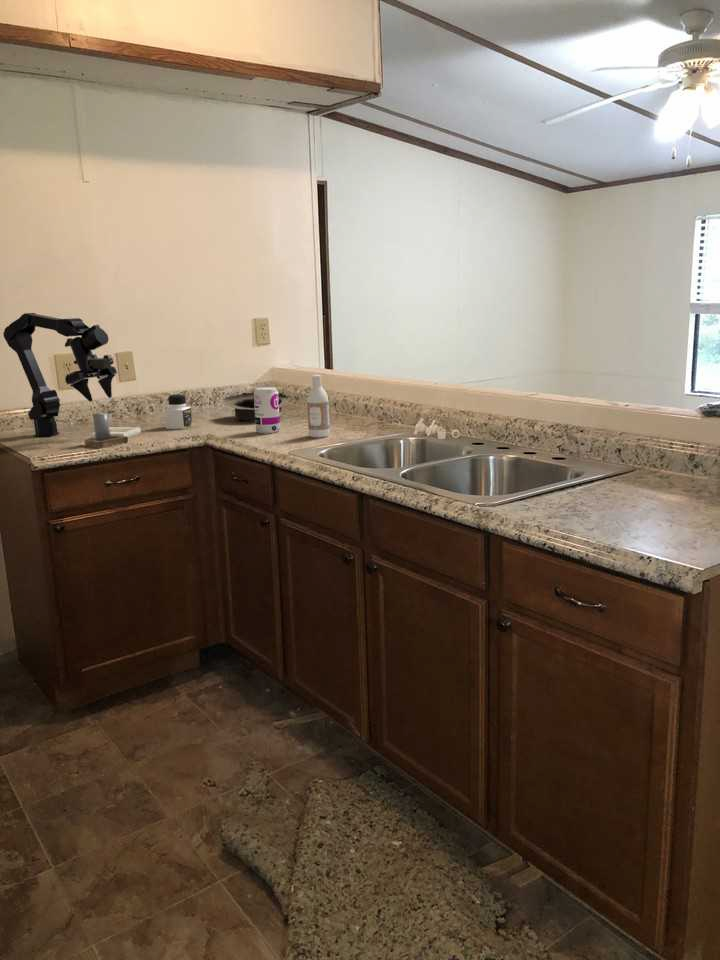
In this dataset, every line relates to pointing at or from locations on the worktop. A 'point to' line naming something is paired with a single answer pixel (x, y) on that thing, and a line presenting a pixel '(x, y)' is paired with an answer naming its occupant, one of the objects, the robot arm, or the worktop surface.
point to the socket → (107, 441)
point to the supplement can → (266, 410)
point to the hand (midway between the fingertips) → (100, 399)
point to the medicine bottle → (178, 413)
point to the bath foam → (318, 410)
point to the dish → (121, 431)
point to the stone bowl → (249, 405)
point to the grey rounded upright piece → (101, 426)
